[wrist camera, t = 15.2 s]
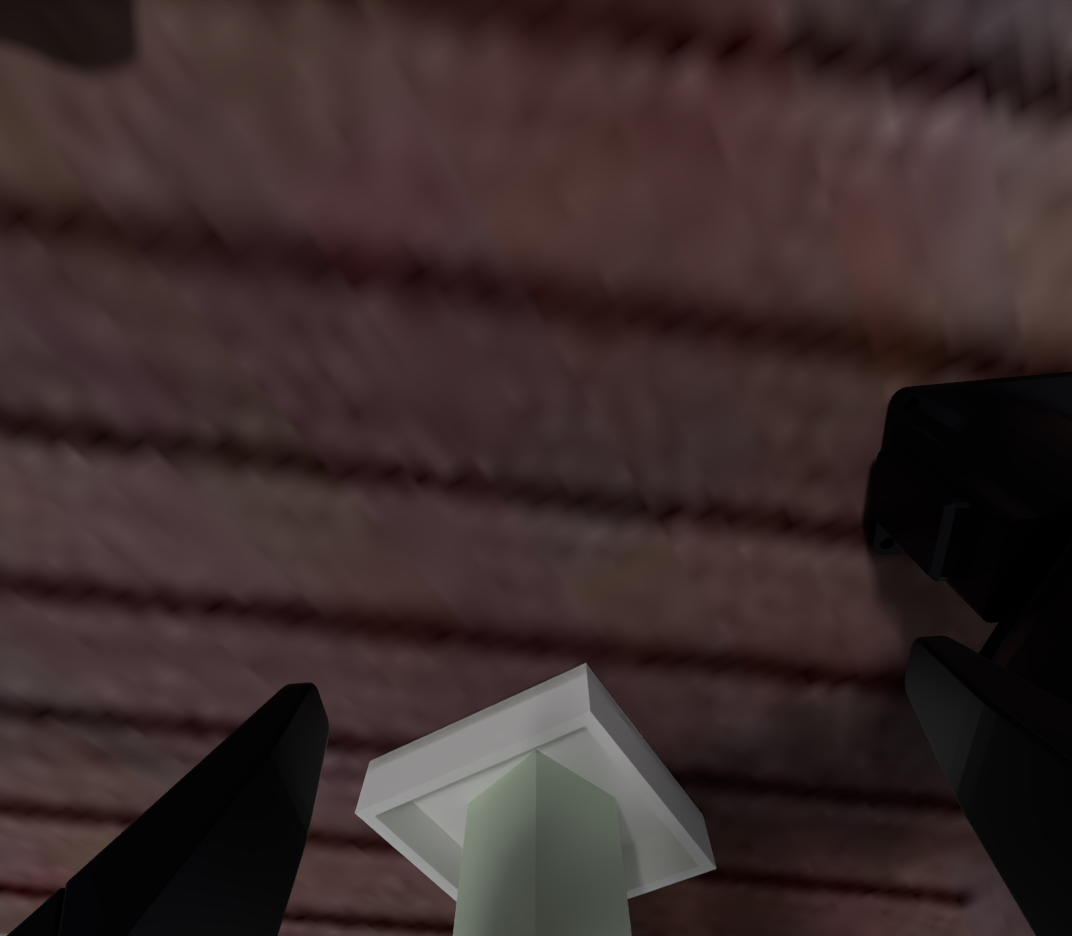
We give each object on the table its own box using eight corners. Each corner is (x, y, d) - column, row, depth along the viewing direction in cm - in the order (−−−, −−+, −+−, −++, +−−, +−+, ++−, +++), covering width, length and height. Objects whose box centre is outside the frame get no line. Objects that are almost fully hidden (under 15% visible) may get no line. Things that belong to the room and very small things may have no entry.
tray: (586, 662, 26) (590, 711, 24) (703, 815, 31) (716, 868, 28) (369, 761, 29) (354, 813, 27) (505, 887, 33) (502, 941, 31)
